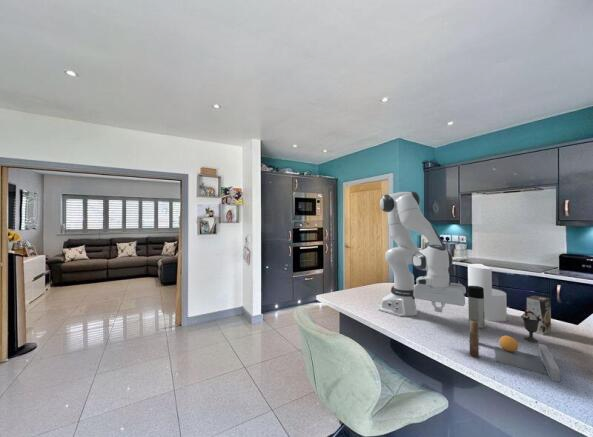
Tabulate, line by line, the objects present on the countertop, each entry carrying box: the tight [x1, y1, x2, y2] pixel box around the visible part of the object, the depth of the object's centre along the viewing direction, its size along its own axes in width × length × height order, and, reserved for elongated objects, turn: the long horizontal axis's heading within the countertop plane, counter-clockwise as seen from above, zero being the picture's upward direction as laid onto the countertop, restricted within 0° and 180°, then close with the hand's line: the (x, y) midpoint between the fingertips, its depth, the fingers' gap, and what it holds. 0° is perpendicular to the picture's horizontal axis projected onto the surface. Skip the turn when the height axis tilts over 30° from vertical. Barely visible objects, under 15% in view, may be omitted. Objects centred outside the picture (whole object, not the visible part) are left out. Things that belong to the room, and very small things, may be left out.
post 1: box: [469, 321, 479, 334], centre depth 111 cm, size 3×3×9 cm
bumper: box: [538, 343, 561, 383], centre depth 92 cm, size 2×20×4 cm, turn 144°
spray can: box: [467, 285, 486, 329], centre depth 128 cm, size 7×7×20 cm
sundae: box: [520, 305, 541, 344], centre depth 112 cm, size 7×7×15 cm
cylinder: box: [467, 263, 508, 322], centre depth 141 cm, size 17×17×28 cm
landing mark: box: [493, 345, 548, 375], centre depth 97 cm, size 14×14×1 cm
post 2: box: [468, 331, 480, 359], centre depth 100 cm, size 3×3×9 cm
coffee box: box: [526, 295, 552, 336], centre depth 121 cm, size 9×6×16 cm
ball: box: [498, 335, 519, 352], centre depth 103 cm, size 6×6×6 cm
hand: (438, 311), depth 112 cm, fingers closed
